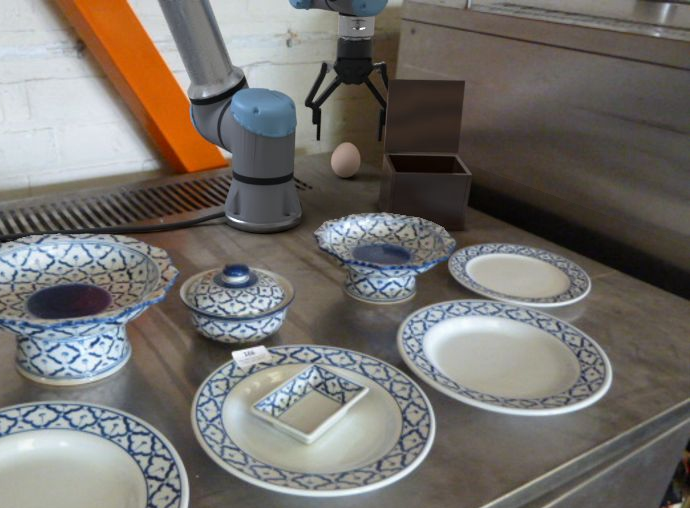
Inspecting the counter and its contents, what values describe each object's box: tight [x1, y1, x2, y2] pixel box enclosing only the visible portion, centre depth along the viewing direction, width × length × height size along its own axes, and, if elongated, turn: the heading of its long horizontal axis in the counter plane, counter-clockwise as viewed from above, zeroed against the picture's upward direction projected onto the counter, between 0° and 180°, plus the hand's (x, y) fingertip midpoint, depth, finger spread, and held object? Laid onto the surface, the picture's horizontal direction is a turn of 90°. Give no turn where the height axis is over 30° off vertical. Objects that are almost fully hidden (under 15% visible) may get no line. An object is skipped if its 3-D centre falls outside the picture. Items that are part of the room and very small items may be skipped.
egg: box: [330, 141, 361, 178], centre depth 150 cm, size 7×7×8 cm
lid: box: [383, 78, 466, 154], centre depth 131 cm, size 14×15×5 cm
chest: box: [377, 152, 473, 231], centre depth 128 cm, size 13×15×11 cm
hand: (348, 139), depth 148 cm, fingers open, 13 cm apart
